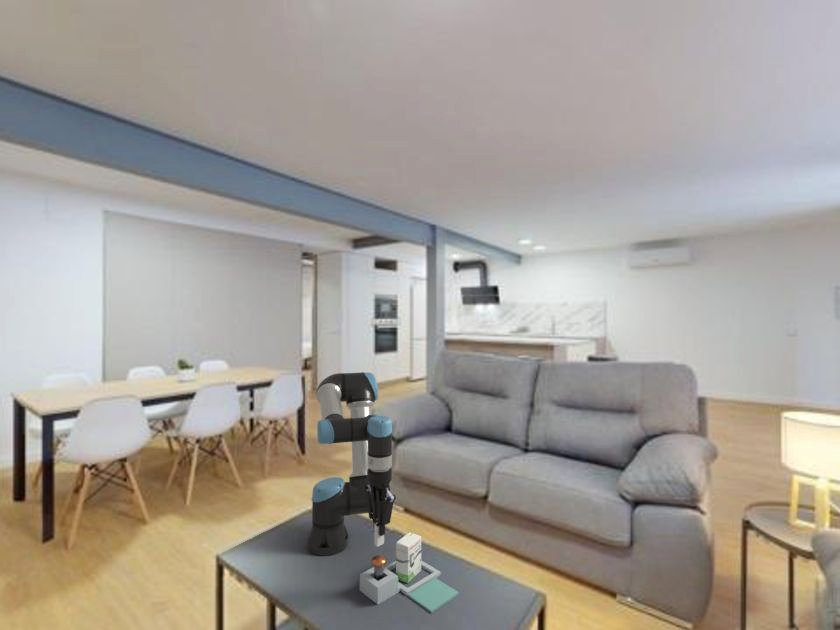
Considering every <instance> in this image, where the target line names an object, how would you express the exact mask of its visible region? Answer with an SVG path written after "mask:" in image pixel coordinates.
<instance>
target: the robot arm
mask: <svg viewBox="0 0 840 630" xmlns="http://www.w3.org/2000/svg"><path fill="white" fill-rule="evenodd" d="M378 387H379V386H378V382H377V378H376V377H375V375H374V374H373V373H372V372H363V371H362V372H343V373H342V372H340V373H339V372H338V373H333V374H330V375H329V376H327V377H325V378H324V379H323V380H321V381H320V383H319V385H318V386H317V388H316V392H315V397H316V400H317V402H318V404H319V407H320V413H321V415H320V416H321V419H319V420H318V421H317V424H316V425H317V426H316V428H317V429H316V432H317V435H316V437H317V442H318V444H321V445H323V444H324V445H325V444H328V445H332V444H339V443H341V444H343V443H351V457H352V458H351V459H352V472H351V474H350V475H349V476H348V480H349V481H345V480H344V478H342V477H340V476H339V477H337V476H334V477H333V476H332V477H328V478H325V479H321V480H320V481H318V482H317V483H316V484H315V485H314V486H313V487H312V495H311V496H312V497H311V502H312V504H311V505H312V506H311V508H312V509H311V510H312V511H311V513H312V514H311V528H310V530H309V532H308V533H309V534H308V537H307V541H306V549H307V551H308V552H310V553H311V554H313V555H317V556H321V557H322V556H324V557H325V556H331V555H336V554H339V553H341V552H343V551H344V550H346V549H347V548H348V546H349V543H350V541H349V540H350V539H349V538H350V537H349V533H348V530H347V527H346V524H345V517H347V516H353V515H362V514H368V518H369V519H370V520H371V521H372V522H373V533H374V541H373V542H374V543H373V544H374V546H375V547H377V548H378V547H380V546H382V545H384V544H385V535H386V525H389V524H391V519H392V513H393V508H394V502H395V500H396V499H397V498H396V494H392V493H391V486H390V483H391V482H392V480H393V479H392V478H393V477H392V476H393V474H392V473H393V469H392V467H393V454H392V452H393V451H392V450H393V449H392V448H393V446H392V445H393V424H392V423H393V421H392V419H391V418H390V417H388V416H386V415H385V416H384V415H377V414H374V413H372V408H373V407H374V405H376V404H375V403H376V402H375V401H378V399H379V388H378ZM343 402H345V404H346V405H345V406H346V407H347V409H348V410H349V411H350V417H349V418H348V417H347V418H345V413H344V410H343V406H342V403H343Z"/></svg>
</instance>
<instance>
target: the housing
mask: <svg viewBox="0 0 840 630" xmlns="http://www.w3.org/2000/svg"><path fill="white" fill-rule="evenodd" d="M394 569H396V560H395V561H393V562H392V563H390V564H387V565H384V578H383V579H381V580H379V581H377V580H376V579H374V566H373V567H371V568H369V569H367V570H365V571H364V572H361V573H360V574H359V591H360V592H361V593H362V594H364V595H365V596H366V597H368V599H370V600H371V601H372V602H373V603H375V604H376V605H380V604H382V603H383V602H385V601H386V600H388V599H389V598H392V597H393V596H395V595H396V594H398V593H400V592H401V593H403V594H404V595H405V596H408V594H410V593H412V592H413V591H415V590H417V589H418V588H420V587H421V586H423V585H425V584H426V583H428V582H430V581H431V580H433V579H435V578H437V579H438V578H439V577H440V576H441V575H442V572H441V571H440V570H438V569H436V568H435V567H433V566H432V565H430V564H428V563H426V562H425V561H423V560H422V559H421V569H424V570H425V571H427V572H429V573H430V574H428V575H427V576H425V577H423V578H421V579H420V580H418V581H416V582H415V583H413V584H412V585H410V586H409V587H406V586H405V585H403V583H401V582H399V580H398V576H397V575H396V573H394V572H392V571H391V570H394Z"/></svg>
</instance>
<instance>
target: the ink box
mask: <svg viewBox="0 0 840 630" xmlns="http://www.w3.org/2000/svg"><path fill="white" fill-rule="evenodd" d="M421 560H422V536H421V535H418V534H416V533H413V532H408V533H407V534H405V535H404V536H402V537H401V538H400V539H399V540H397V541H396V543H395V561H396V567H395V574H396V575H397V576H398V581H401V582H404V583H407V584H409V583H410V582H411V581H412V580H413V579H414V578H415V577H416V576H417V575H418V574H419V573H420V572H421V571H422V567H421Z"/></svg>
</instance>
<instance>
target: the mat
mask: <svg viewBox="0 0 840 630" xmlns="http://www.w3.org/2000/svg"><path fill="white" fill-rule="evenodd" d="M407 596H408V598H409V599H411V600H412V601H414V602H415V603H417V604H418V605H419V606H421V607H422V608H424V609H425V610H427V611H428V612H429V613H431V614H433V613H434V612H435V611H437V610H438V609H440V608H442V607H443V606H445V605H446V604H447V603H449V602H451V601H452V600H453V599H455V598H456V597H458V596H460V592H459V591H458V590H456V589H454V588H453V587H451V586H449V585H448V584H446V583H444V582H443V581H441V580H440V579H439V578H438V577H437V578H435V579H433V580H431V581H430V582H428V583H426V584H425V585H423V586H421V587H420V588H418V589H417V590H415V591H413V592H412V593H410V594H408V595H407Z"/></svg>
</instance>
